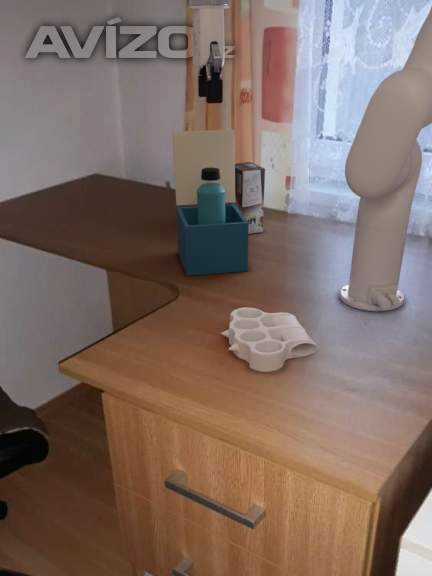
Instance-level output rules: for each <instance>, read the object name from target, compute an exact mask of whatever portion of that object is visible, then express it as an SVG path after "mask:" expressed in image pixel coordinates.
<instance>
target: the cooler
mask: <svg viewBox="0 0 432 576" xmlns="http://www.w3.org/2000/svg"><path fill="white" fill-rule="evenodd" d="M225 213H226V214H225V221H226V222H225V223H220V224H204V225H198V207H197V205H196V206H194V205H192V206H179V207H176V229H177V253H178V256H179V258H180V261H181V263H182V267H183V269H184V272H185V274H186V276H199V275H211V274H227V273H239V272H248V271H249V237H250V234H249V223H248V221H247V220H246V219H245V217H244V216H243V215H242V213H241V212H240V211H239V209H238V208H237V207H236V205H235V204H229V203H227V204H225Z"/></svg>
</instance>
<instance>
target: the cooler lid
mask: <svg viewBox="0 0 432 576" xmlns="http://www.w3.org/2000/svg"><path fill="white" fill-rule="evenodd" d="M171 134H172V152H173V169H174V170H173V171H174V191H175V205H176V206H179V207H180V206H194V205H196V206H197V189H198V188H199V187H200V186H201V185H202V184H204V183H218V184H220V185H222V186H223V187H224V189H225V204H229V203H232V202H235V164H236V156H235V155H236V151H235V150H236V149H235V142H236V141H235V138H236V137H235V135H236V134H235V129H214V130H187V131H186V130H185V131H184V130H183V131H172V133H171ZM209 167H213V168H218V169H219V170H220V179H219V180H215V181H206V180H202V179H201V172H202V169H203V168H209Z"/></svg>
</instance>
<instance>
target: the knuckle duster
mask: <svg viewBox="0 0 432 576" xmlns="http://www.w3.org/2000/svg"><path fill="white" fill-rule="evenodd" d="M228 324H229V325H228V329H226V330H224V331H222V332H220V333H219V334H220V335H222V336H224V337H226V338H227V339H228V344H229V345H230V346H229V348H228V349H227V350H228V351H231V352H232V353H233V354H234V355H235V356H236V357H237V358H239V359H240V360H243V361H245V362H247V363H248V365H249V368H250V369H251V370H253V371H256V372H261V373H273V372H276V371H279V370H280V369H282V368H283V366H284V365H285V362H286V361H288V360H290V359H291V360H292V359H299V358H303V357H308V356H310V355H312V354H314V353H315V352H316V351H317V343H316V342H315V341H313V340H312V338H311V337H310V336H309V334H308V333H307V332H306V331H307V330H306V329H305V328H304V327H303V326H302V325H301V323H300V322H299V321H298V320H297V316H296V315H294V314H292V313H289V312H281V311H279V312H267V311H263V310H260V309H259V308H255V307H239V308H236V309H234V310H232V311H230V314H229V323H228Z"/></svg>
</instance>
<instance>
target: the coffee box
mask: <svg viewBox="0 0 432 576" xmlns="http://www.w3.org/2000/svg"><path fill="white" fill-rule="evenodd" d="M265 178H266V168H264V167H262V166H260V165H258V164H256V163H254V162H251V161H243V162H237V163H235V202H232V203H228V204H235V205H236V207H237V208H238V209H239V211H240V212H241V213H242V215H243V216H244V217H245V219H246V220H247V221H248V223H249V235H250V234H257V233H258V234H261V233H263V232H264V214H265V213H264V209H265V208H264V207H265V185H266V184H265V182H266V181H265V180H266V179H265Z"/></svg>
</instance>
